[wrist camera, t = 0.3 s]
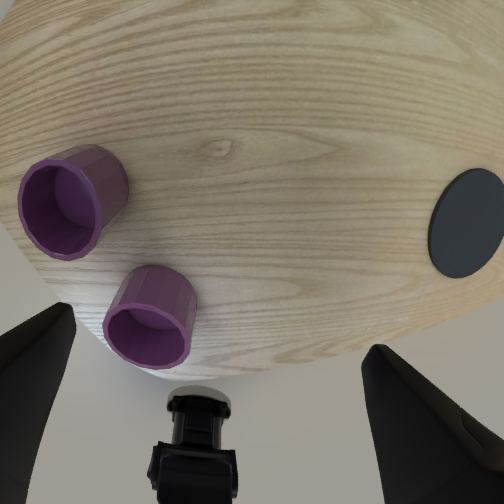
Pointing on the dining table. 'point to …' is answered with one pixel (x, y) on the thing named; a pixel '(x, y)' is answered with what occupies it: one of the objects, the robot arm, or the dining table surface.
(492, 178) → the coaster
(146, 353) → the purple cup
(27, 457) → the robot arm
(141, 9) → the dining table surface
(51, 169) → the purple faceted cup
